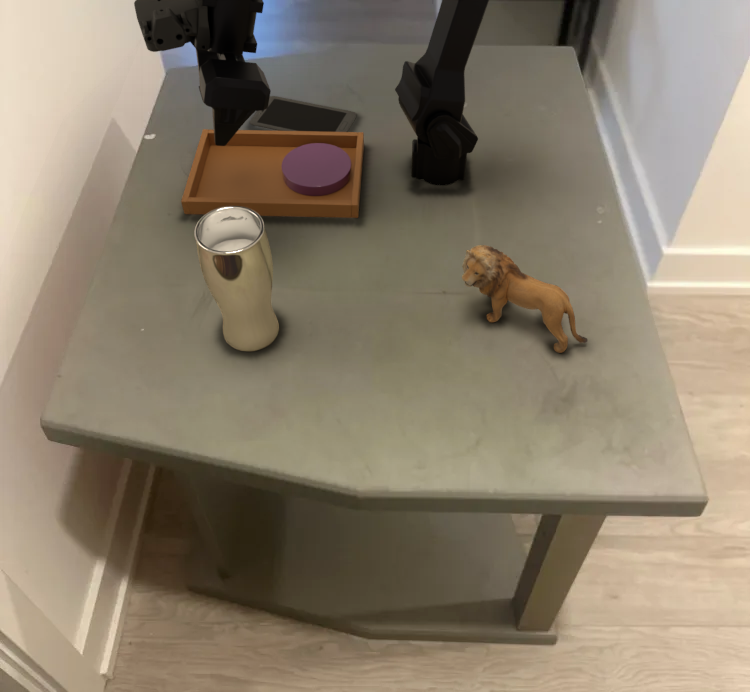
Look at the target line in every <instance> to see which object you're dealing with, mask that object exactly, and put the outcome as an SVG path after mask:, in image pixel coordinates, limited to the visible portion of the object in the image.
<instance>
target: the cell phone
mask: <svg viewBox="0 0 750 692" xmlns="http://www.w3.org/2000/svg"><path fill="white" fill-rule="evenodd" d="M357 116H358V114H357V113H356V112H355V111H352V110H347V109H342V108H336V107H332V106H327V105H323V104H318V103H317V104H316V103H312V102H307V101H301V100H296V99H291V98H286V97H281V96H276V95H270V98H269V103H268V108H267V109H265V110H263V111H261V110H260V111H255V112H254V115H252V117H251V118H250V120H249V124H250V125H251V126H255V127H259V128H264V129H269V130H272V131H318V132H349V130H350V128H352V127H351V126H352V125H353V124H354V122H355V120H356V119H357Z"/></svg>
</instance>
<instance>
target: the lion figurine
mask: <svg viewBox="0 0 750 692" xmlns="http://www.w3.org/2000/svg"><path fill="white" fill-rule="evenodd" d="M461 267H462V270H463V274H462V275H461V280H462V281H463V282H464V285H465V286H466V287H468V288H471V287H474V288H478V291H479V293H481V294H483V295H485V296H487V297H489V298H491V306H492V312H489V313H487V314H486V320H487V321H488V323H495V322H498V321H499V320H500V318H502V316H503V315H502V312H503V311H502V310H503V309H504V307H505V305H507V303H508V302H510V303H511V304H514V305H515V306H517V307H520V308H523V309H526V310H532V311H533V310H538V311H540V313H541V316H542V323H543V324H544V325H545V327H546V328H547V329H548V330H549V332H550V333H551V335H553V336H554V337H555V339H557V342H555V343H554V344H553V350H554V351H555V352H556V353H559V354H561V353H564V352H565V351H566V350H567V348H568V345H569V337H568V335H567V334H566V333H565V331H564V330H563V326H562V321H563V318H564V314H565V315H567V318H568V323H569V327H570V328H569V329H570V332H571V335H572V337H573V338H574V339H575V340H576V341H577V342H579V343H580V344H586V343H588V338H587V337H586V336H582V335H581V334H578V333H577V329H576V318H575V311H574V308H573V306H572V304H571V301H570V297H569V295H568V294H567V292H566V291H564V290H563V289H562V288H561V287H560V286H558V285H556V284H551V283H548V282H544V281H541V280H539V279H537V278H534V277H532V276H531V275H528V274H526V273H524V272H522V271H521V269H520V268H519V265H517V264H516V263H515V261H514V260H513V259H512V258H511V257H510V256H508V255H507V254H505V253H504V252H503V251H500V250H498V249H497V248H494V247H493V246H489V245H485V244H482V245H480V244H478V245H475V246H473V247H472V248H470V249H467V250H465V256H464V259H463V262H462V266H461Z"/></svg>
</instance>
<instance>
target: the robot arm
mask: <svg viewBox="0 0 750 692" xmlns="http://www.w3.org/2000/svg"><path fill="white" fill-rule="evenodd" d="M489 2H490V0H441V3H440V7H439V9H438V13H437V16H436V18H435V19H436V20H435V23H434V26H433V29H432V32H431V34H430V35H431V36H430V39H429V42H428V45H427V48H426V51H425V52H424V53H423V55H422V56H421V57H420V58H419V59H418V60H417V61H416V62H411V61H408V60H405V61H404V63H403V64H402V71H401V77H400V80H399V82H398V84H397V85H396V87H395V88H394V91H395V93H396V95H397V96H398V104H399V107H400V109H401V110H402V112H403V114H404V116H405V118H406V120H407V121H408V122H409V125H410V126H411V128H412V130H413V132H414V133H415V135H416V138H414V139H412V142H411V143H412V145H411V165H410V167H411V168H410V169H411V171H410V173H411V175H410V176H411V177H412V179H413V178H415V179H416V180H422V181H423V182H425V183H427V184H430V185H432V186H443V187H444V186H449V185H452V184H454V183H456V182H458V181H464V180H465V175H466V166H467V158H468V154H471V153H472V152H473V151H474V149H475V147H476V145H477V143H478V141H479V137H478V135H477V134H476V133H475V130H473V128H472V126H471V124H470V123H469V121H468V120H467V118H466V117H465V115H464V114H463V113H464V109H465V104H466V83H465V81H466V80H465V78H466V77H465V71H466V66H467V63H468V61H469V58H470V56H471V52H472V50H473V47H474V44H475V41H476V40H477V39H476V38H477V36H478V33H479V30H480V27H481V25H482V22H483V19H484V16H485V14H486V11H487V8H488V5H489ZM264 4H265V3H264V0H134V2H133V5H134V10H135V16H136V20H137V22H138V25H139V28H140V31H141V35H142V37H143V40H144V43H145V46H146V49H147V50H148V51H149V52H153V53H157V52H165V51H170V50H174V49H178V48H183V47H184V46H185V44H188V43H190V44H191V45H192V46H193V47H194V49H195V53H196V54H195V55H196V61H197V70H198V77H199V78H198V80H199V85H198V89H199V93H200V97H201V99H202V103H203V104H204V105H205V106H207V107H210V108H211V110H212V125H213V130H214V139H215V145H217V146H225V145H226V144H227V143H228V142H229V141H230V140H231V138H232V137H233V136H234V135H235V133H236V132H237V131H238V130H241V127H242V126H243V125H244V124H245V123H246V122H247V120H248V119H250V118H251V116H253V114H255V113H256V112H257V111H260V110H261V111H263V110H265V109H267V108H268V103H269V98H270V96H271V91H272V90H271V87H270V85H269V82H268V80H267V78H266V77H267V76H266V75H265V71H263V70H262V69H261V67H260V66H259V64H257V63H256V62H250V61H246V60H245V57H244V53H251V54H256V53H257V48H258V42H257V39H256V37H255V34H254V32H255V26H256V20H257V14H263V11H264V6H265V5H264Z"/></svg>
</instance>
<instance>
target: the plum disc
mask: <svg viewBox="0 0 750 692" xmlns="http://www.w3.org/2000/svg"><path fill="white" fill-rule="evenodd" d="M281 167H282V175H283V180H284V182H285V184H286V185H287V186H288V187H289V188H290V189H291V190H293V191H295V192H297V193H300V194H303V195H308V196H323V195H328V194H331V193H334V192H336V191H338V190H340V189H342V188H343V187H344V186H345V185H346V184H347V183H348V182H349V180H350V178H351V174H352V170H351V159H350V157H349V156H348V154H347V153H346V152H345V151H344V150H342V149H341V148H339V147H337V146H334V145H331V144H325V143H311V144H306V145H302V146H299V147H297V148H295V149H293V150H292V151H290V152H289V153H288V154H287V155H286V156H285V157H284V159H283V161H282V166H281Z"/></svg>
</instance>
